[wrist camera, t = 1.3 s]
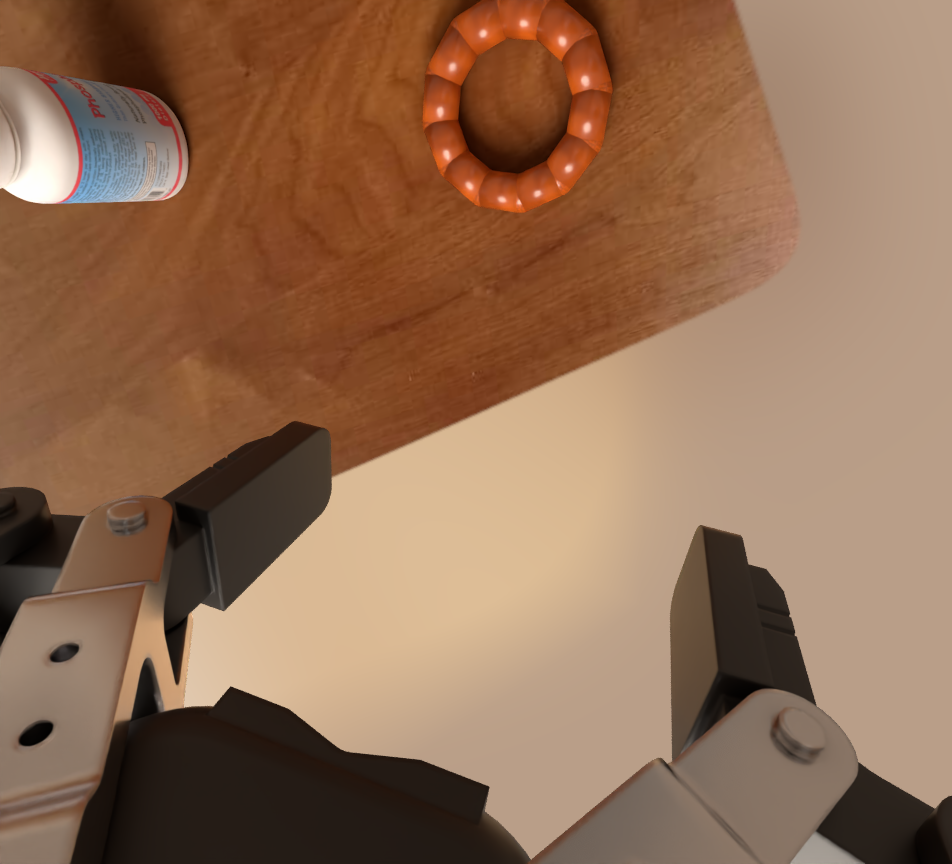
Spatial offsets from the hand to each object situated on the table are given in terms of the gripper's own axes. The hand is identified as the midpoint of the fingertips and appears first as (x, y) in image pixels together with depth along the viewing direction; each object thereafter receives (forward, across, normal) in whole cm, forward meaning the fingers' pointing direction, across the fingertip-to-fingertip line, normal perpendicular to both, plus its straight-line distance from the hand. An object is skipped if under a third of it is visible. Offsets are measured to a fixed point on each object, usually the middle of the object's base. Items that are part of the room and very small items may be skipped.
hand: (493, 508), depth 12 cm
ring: (+20, +6, -9) cm, 23 cm away
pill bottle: (+21, +29, -5) cm, 36 cm away
